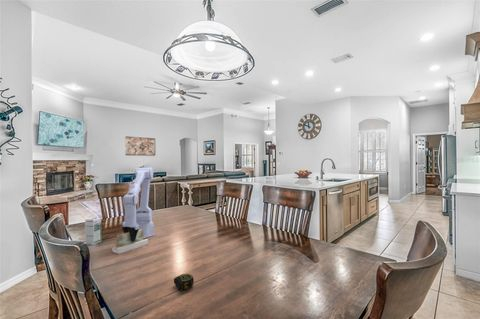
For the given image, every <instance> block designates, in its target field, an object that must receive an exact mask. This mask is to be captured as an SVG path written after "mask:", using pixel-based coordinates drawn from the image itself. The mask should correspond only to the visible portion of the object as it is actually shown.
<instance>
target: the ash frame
mask: <svg viewBox="0 0 480 319" xmlns="http://www.w3.org/2000/svg"><path fill="white" fill-rule="evenodd" d="M142 240H144V238H143V229H139V231H138V233H137V235H136V239H135V241H133V242H134V243H135V242H139V241H142ZM133 242H131V239H130V233H129V232H127V233H124V232H123V233H120V234H119V233H118V234H116V247H117V248H119V247H122V246H125V245H129V244H132V243H133Z"/></svg>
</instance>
